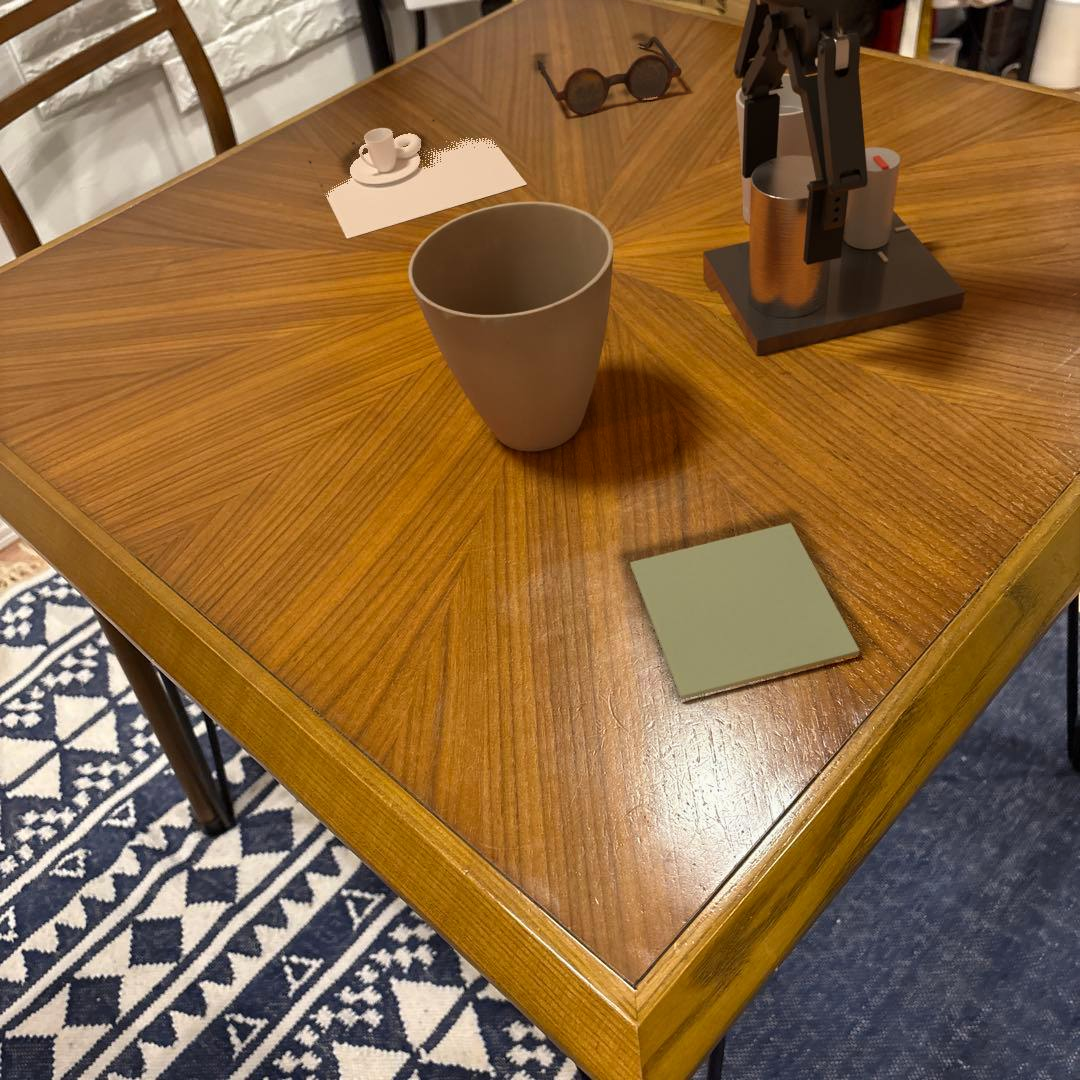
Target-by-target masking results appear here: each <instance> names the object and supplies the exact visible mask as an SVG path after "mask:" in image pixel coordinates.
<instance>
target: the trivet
mask: <svg viewBox="0 0 1080 1080" xmlns="http://www.w3.org/2000/svg"><path fill="white" fill-rule="evenodd" d="M629 566H630V570H631V569H632V572H633V574H634V577H635V579H634V581H635V580H636V582H637V585H638V587H637V589H638V588H639V590H640V593H641V595H642V598H643V601H644V603H645V606H646V608H645V610H646V609H647V611H648V614H649V616H650V619H651V622H652V624H653V627H654V630H655V632H656V635H657V637H658V640H659V643H660V645H661V648H662V651H663V653H664V656H665V659H666V661H667V664H668V666H669V669H670V672H671V674H672V677H673V680H674V682H675V685H676V687H677V690H678V693H679V695H680V698H681V699H686V698H690V697H694V696H698V695H702V694H706V693H710V692H714V691H718V690H722V689H726V688H729V687H733V686H737V685H741V684H745V683H749V682H753V681H757V680H761V679H765V678H769V677H773V676H776V675H780V674H784V673H788V672H792V671H796V670H800V669H804V668H808V667H812V666H816V665H820V664H824V663H827V662H831V661H835V660H839V659H843V658H847V657H851V656H855V655H859V656H860V651H861V650H860V648H859V646H858V644H857V642H856V641H855V639H854V636H853V635H852V633H851V632H850V630H849V628H848V626H847V624H846V622H845V620H844V619H843V617H842V615H841V613H840V611H839V609H838V608H837V606H836V604H835V602H834V600H833V598H832V596H831V594H830V592H829V590H828V589H827V587H826V585H825V583H824V581H823V580H822V578H821V575H820V574H819V572H818V570H817V568H816V566H815V564H814V563H813V561H812V559H811V557H810V555H809V553H808V551H807V550H806V547H805V546H804V544H803V542H802V541H801V539H800V537H799V535H798V533H797V531H796V529H795V527H794V526H793V524H792V523H791V522H789V523H785V524H781V525H776V526H772V527H768V528H764V529H759V530H756V531H752V532H748V533H742V534H739V535H735V536H731V537H728V538H723V539H719V540H714V541H710V542H706V543H703V544H698V545H695V546H690V547H685V548H682V549H679V550H675V551H670V552H666V553H662V554H658V555H654V556H650V557H645V558H642V559H638V560H634V561H631V562H629ZM632 572H631V573H632ZM633 574H632V575H633ZM634 577H633V578H634ZM636 582H635V583H636ZM637 585H636V586H637ZM639 590H638V591H639ZM640 593H639V594H640ZM641 595H640V596H641ZM642 598H641V599H642ZM643 601H642V602H643ZM644 603H643V604H644ZM645 606H644V607H645ZM647 611H646V612H647ZM648 614H647V615H648ZM649 616H648V617H649ZM650 619H649V620H650ZM651 622H650V623H651ZM652 624H651V625H652ZM653 627H652V628H653ZM654 630H653V631H654ZM655 632H654V633H655ZM656 635H655V636H656ZM657 637H656V638H657ZM658 640H657V641H658ZM659 643H658V644H659ZM660 645H659V646H660ZM661 648H660V649H661ZM662 651H661V652H662ZM663 653H662V654H663ZM664 656H663V657H664ZM665 659H664V660H665ZM666 661H665V662H666ZM667 664H666V665H667ZM668 666H667V667H668ZM669 669H668V670H669ZM670 672H669V673H670ZM671 674H670V675H671ZM672 677H671V678H672ZM673 680H672V681H673ZM674 682H673V683H674ZM675 685H674V686H675ZM676 687H675V688H676ZM677 690H676V691H677ZM678 693H677V694H678ZM679 695H678V696H679ZM680 698H679V699H680Z"/></svg>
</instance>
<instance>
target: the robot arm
mask: <svg viewBox="0 0 1080 1080" xmlns="http://www.w3.org/2000/svg"><path fill="white" fill-rule="evenodd" d="M844 1H845V0H750V1H749V5H748V8H747V13H746V17H745V20H744V24H743V29H742V33H741V36H740V37H741V38H740V41H739V45H738V50H737V53H736V56H735V57H736V58H735V61H734V66H733V74H734V77H735V79H737V80H738V79H742V81H741V84H740V85H741V87H740V88H741V89H742V92H743V95H744V96H747V99H746V100H745V103H744V133H743V163H742V173H741V176H742V175H743V176H744V178H745V179H746V178H751V176H752V174H753V172H754V170H755V169H756V168H757V167H758V166H760V165H761V164H763V163H764V162H766V161H769V160H771V159H774V158H777V145H778V128H779V110H780V96H779V95H778V94H777V93H775V94H770V95H769V91H773V90H778V89H783V88H784V87H782V86H781V85H783V83H782V79H781V78H782V76H783V74H786V71H787V70H788V74H789V76H790V81H791V87H792V90H793V91H794V93H796V94H799V95H800V97H801V102H802V108H803V113H804V118H805V124H806V129H807V134H808V140H809V145H810V150H811V156H812V161H813V166H814V172H815V177H816V180H815V181H811V182H810V184H808V185H807V189H808V191H809V196H808V209H807V221H806V233H805V245H804V257H803V260H804V262H805V263H806V264H807V265H810V264H814V263H819V262H823V261H828V260H832V259H837V258H841V254H842V245H843V236H844V227H845V218H846V209H847V200H848V191H849V190H854V189H858V188H863V187H866V185H867V182H868V178H867V165H866V153H865V148H866V143H865V129H864V119H863V106H862V93H861V82H860V59H861V57H860V56H861V37H860V35H859V33H857V32H853V33H849V34H841V27H840V23H839V12H838V9H839V7H840V5H841V4H842V3H844Z"/></svg>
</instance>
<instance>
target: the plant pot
mask: <svg viewBox="0 0 1080 1080" xmlns="http://www.w3.org/2000/svg"><path fill="white" fill-rule="evenodd" d="M614 245H615V244H614V239H613V237H612V234H611V232H610V230H609V229H608V227H606V225H605V224H604V223H603V222H602V221H600V219H598V218H597V217H595V216H594V215H592V213H589V212H587V211H585V210H583V209H579V208H578V207H574V206H571V205H568V204H563V203H558V202H551V201H516V202H505V203H501V204H496V205H492V206H486V207H482V208H479V209H476V210H474V211H470V212H467V213H465V214H462V215H460V216H458V217H455V218H453V219H451V220H449V221H447V222H445V223H444V224H442V225H441V226H439V227H438V228H436V229H435V230H434V231H432V232H431V233H430V234H428V236H426V237H425V239H423V240H422V241H421V242H420V244H419V245H418V246H417V248H416V249H415V251H414V252H413V253H412V256H411V258H410V260H409V264H408V269H407V276H408V280H409V284H410V286H411V289H412V291H413V294H414V296H415V298H416V301H417V304H418V305H419V308H420V310H421V312H422V315H423V317H424V320H425V322H426V324H427V326H428V329H429V330H430V333H431V335H432V337H433V339H434V341H435V343H436V345H437V348H438V349H439V351H440V353H441V355H442V357H443V359H444V361H445V363H446V364H447V367H448V369H449V370H450V372H451V373H452V375H453V377H454V378H455V380H456V382H457V384H458V385H459V387H460V388H461V390H462V392H463V394H464V395H465V396H466V398H467V399H468V401H469V402H470V404H471V405H472V407H473V408H474V410H475V412H477V414H478V415H479V417H480V418H481V419H482V421H483V422H484V423H485V425H486V426H487V428H488V429H489V430H490V432H491V433H492V434H493V435H494V436H495V437H496V439H497V440H499V442H500V443H501V444H503V445H505V446H506V447H509V448H510V449H512V450H517V451H520V452H521V451H522V452H542V451H546V450H547V451H548V450H551V449H554V448H556V447H559V446H561V445H563V444H565V443H566V442H567V441H569V440H570V439H572V438H573V437H574V436H575V435H576V433H577V432H578V431H579V430H580V427H581V425H582V422H583V421H584V420H583V419H584V417H585V415H586V411H587V409H588V406H589V402H590V399H591V396H592V392H593V390H594V385H595V382H596V379H597V375H598V371H599V367H600V362H601V358H602V353H603V348H604V343H605V337H606V332H607V324H608V319H609V310H610V302H611V289H612V280H613V279H612V277H613V263H614V248H615V246H614Z"/></svg>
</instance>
